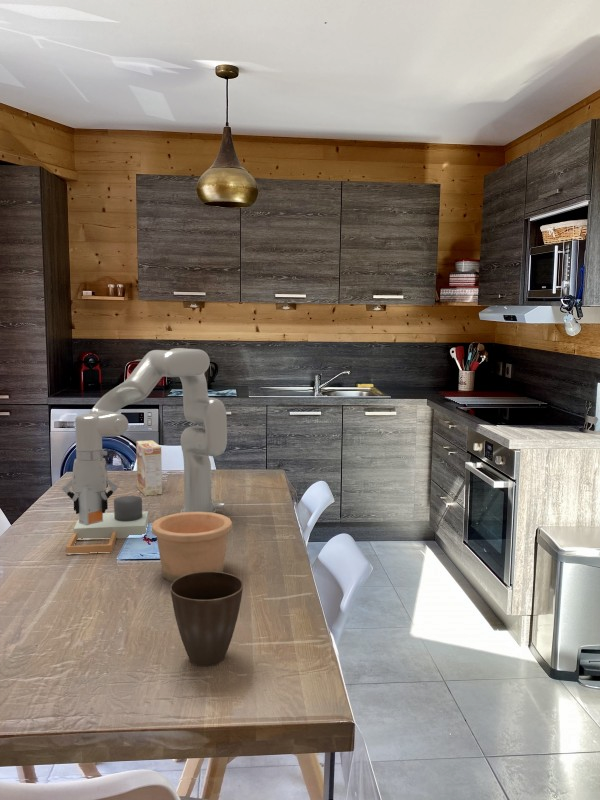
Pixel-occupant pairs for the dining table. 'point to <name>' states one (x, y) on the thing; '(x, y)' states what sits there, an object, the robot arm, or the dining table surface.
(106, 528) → the slab with grey cylinder
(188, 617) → the plant pot
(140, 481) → the coffeecake box
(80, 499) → the skincare box
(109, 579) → the dining table surface
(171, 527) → the pottery
